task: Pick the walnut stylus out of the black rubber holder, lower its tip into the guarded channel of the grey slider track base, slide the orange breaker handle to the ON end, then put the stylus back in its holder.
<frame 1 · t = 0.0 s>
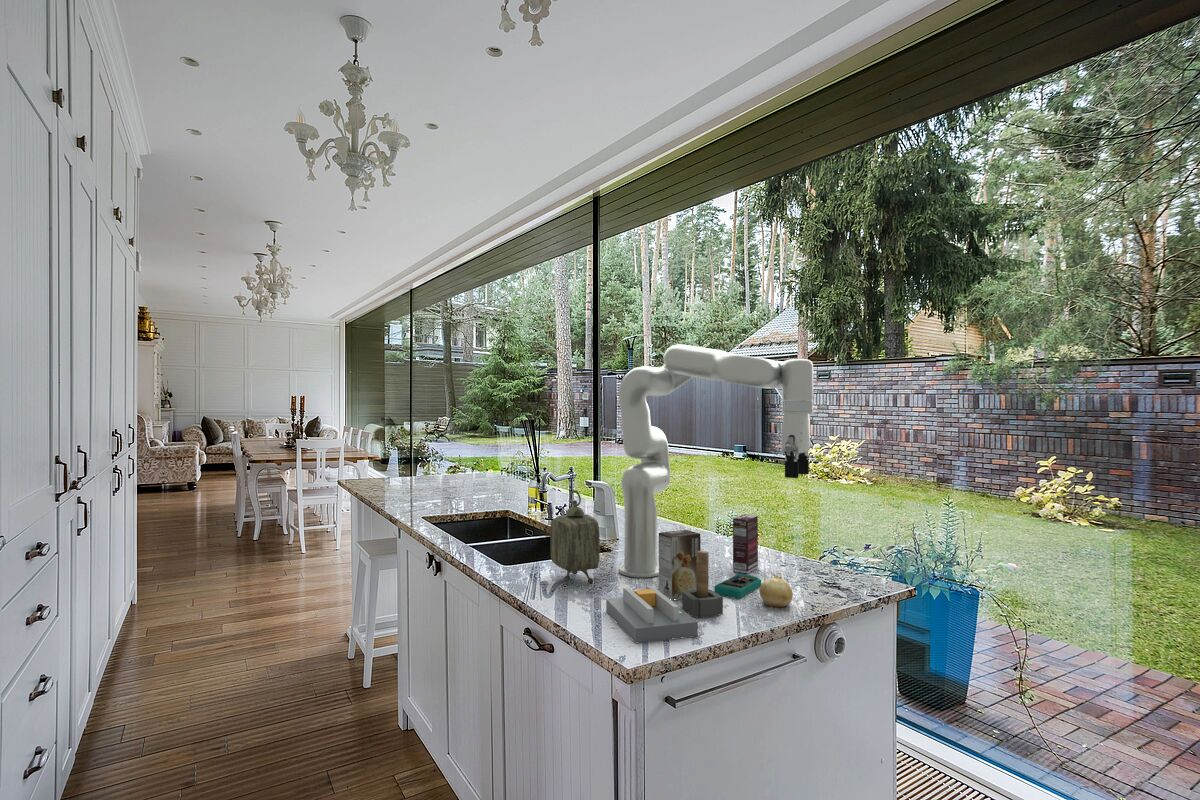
hand: (797, 475, 156), 31 cm above the worktop, tool pointing down, fingers open, 9 cm apart
grey slider track base: (649, 623, 138), on the worktop
digital multimeter: (738, 592, 164), on the worktop
breaker handle: (644, 598, 141), point 5 cm above the worktop, slide at 0.0 cm
stylus: (702, 581, 146), in the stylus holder
tabletop clock: (573, 581, 171), on the worktop
supplement box: (745, 570, 183), on the worktop
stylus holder: (702, 611, 146), on the worktop
coffee box: (679, 596, 159), on the worktop
onion: (775, 605, 152), on the worktop
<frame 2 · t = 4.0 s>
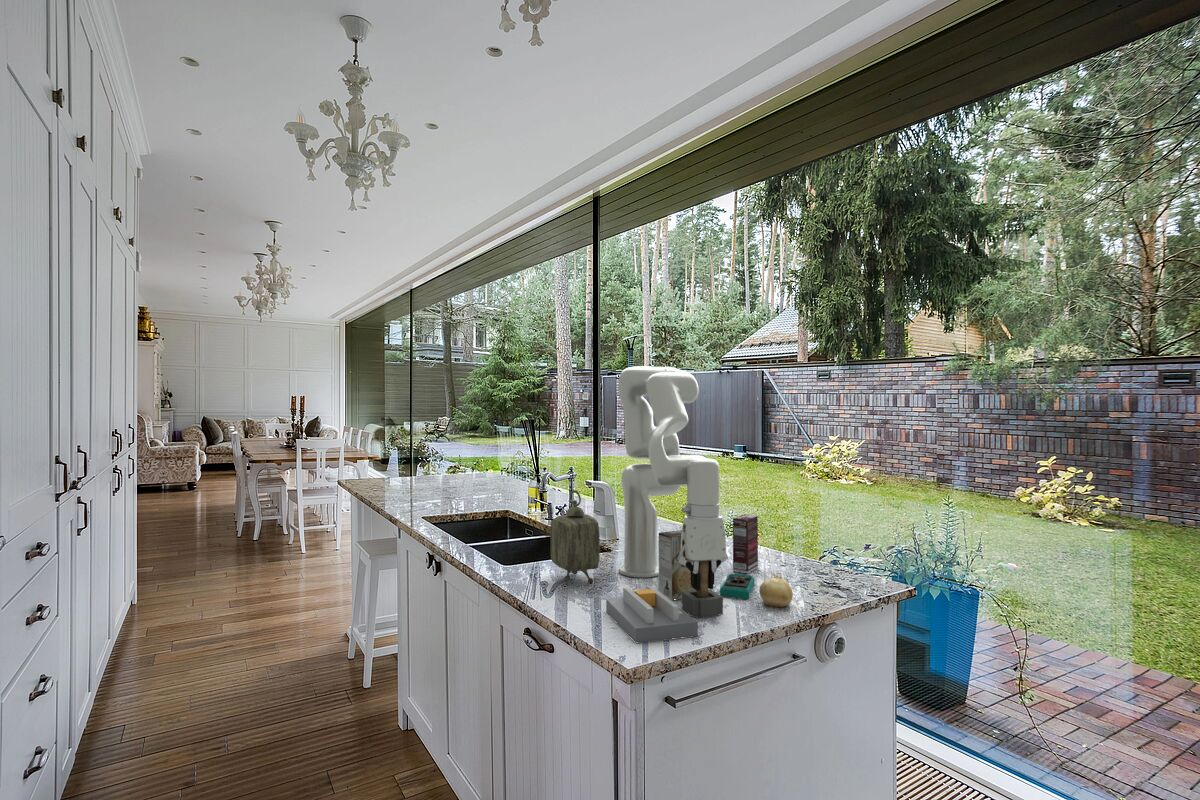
hand: (702, 587, 146), 6 cm above the worktop, tool pointing down, fingers closed on stylus, 2 cm apart
stylus: (702, 581, 146), in the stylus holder, touching gripper
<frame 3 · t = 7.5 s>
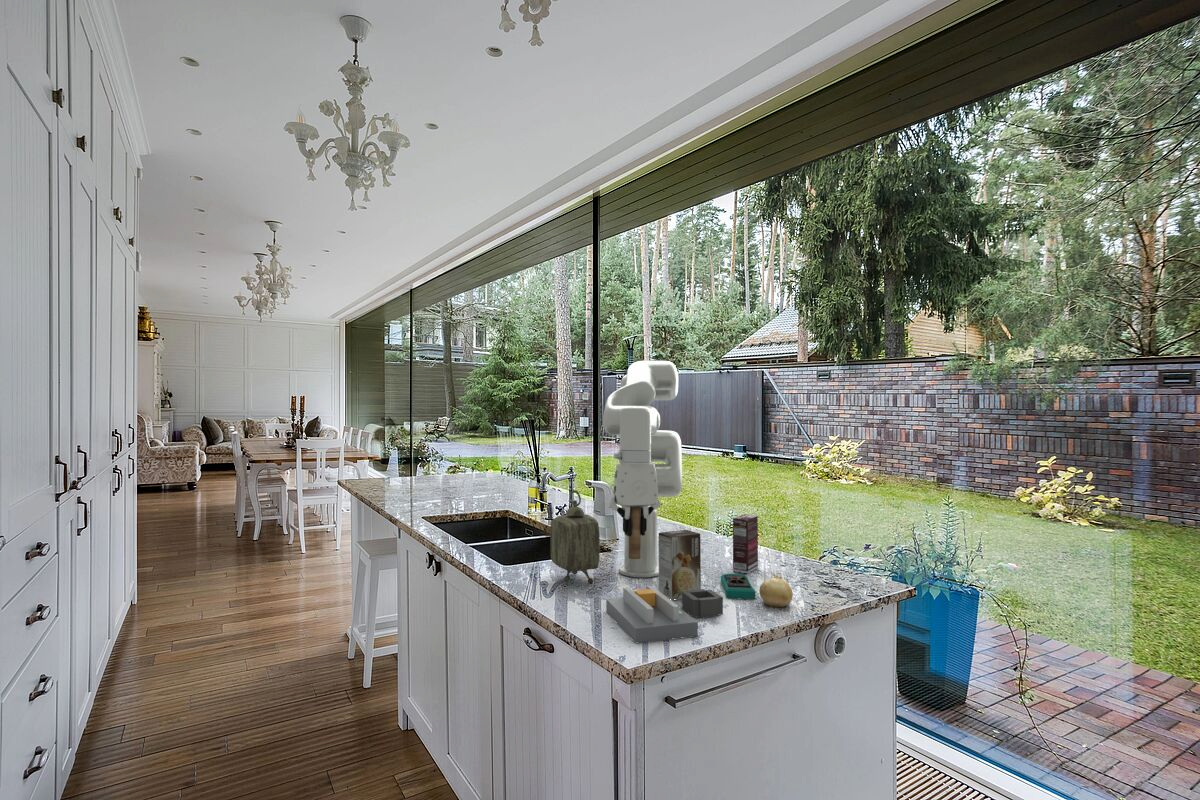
hand: (634, 534, 147), 18 cm above the worktop, tool pointing down, fingers closed on stylus, 2 cm apart
stylus: (634, 528, 147), point 19 cm above the worktop, touching gripper
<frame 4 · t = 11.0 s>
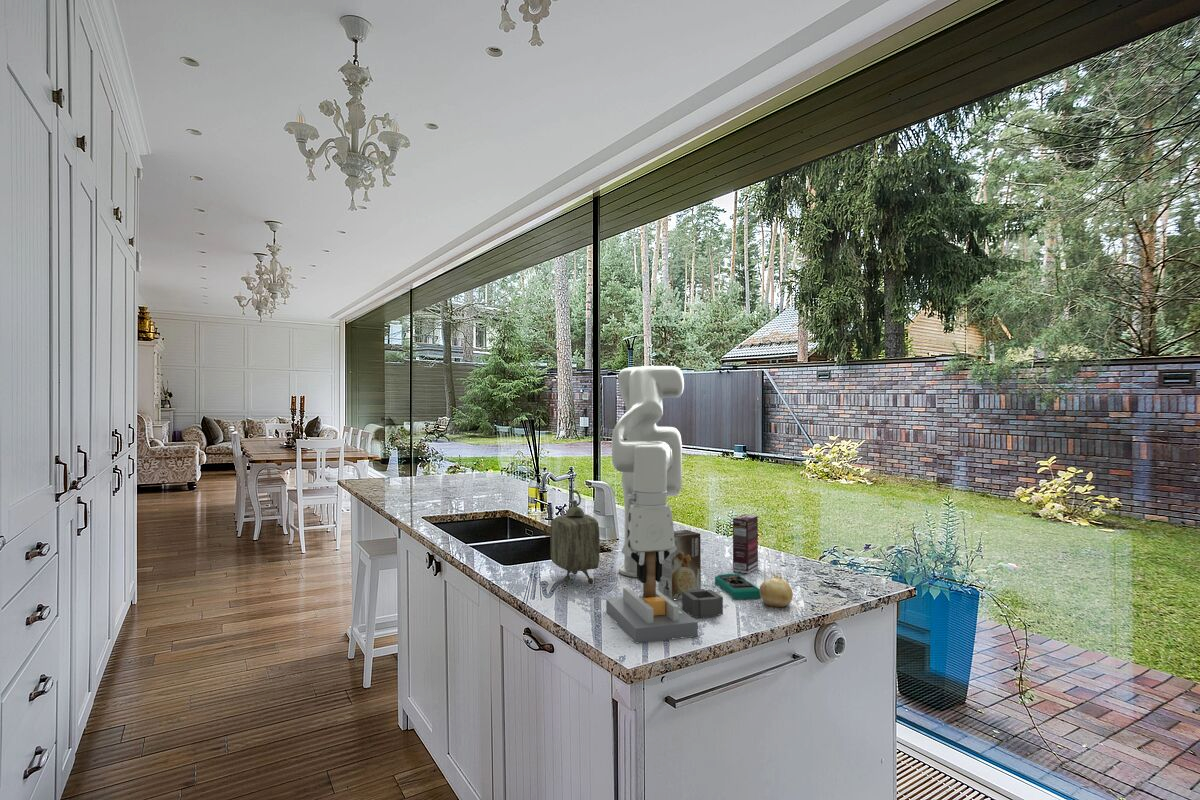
hand: (649, 580, 138), 10 cm above the worktop, tool pointing down, fingers closed on stylus, 2 cm apart
breaker handle: (654, 606, 135), point 5 cm above the worktop, slide at 5.8 cm
stylus: (649, 574, 138), point 11 cm above the worktop, touching gripper
when the fingers open (7 cm above the worktop, at t = 17.0 s): stylus drops 1 cm, resting in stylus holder.
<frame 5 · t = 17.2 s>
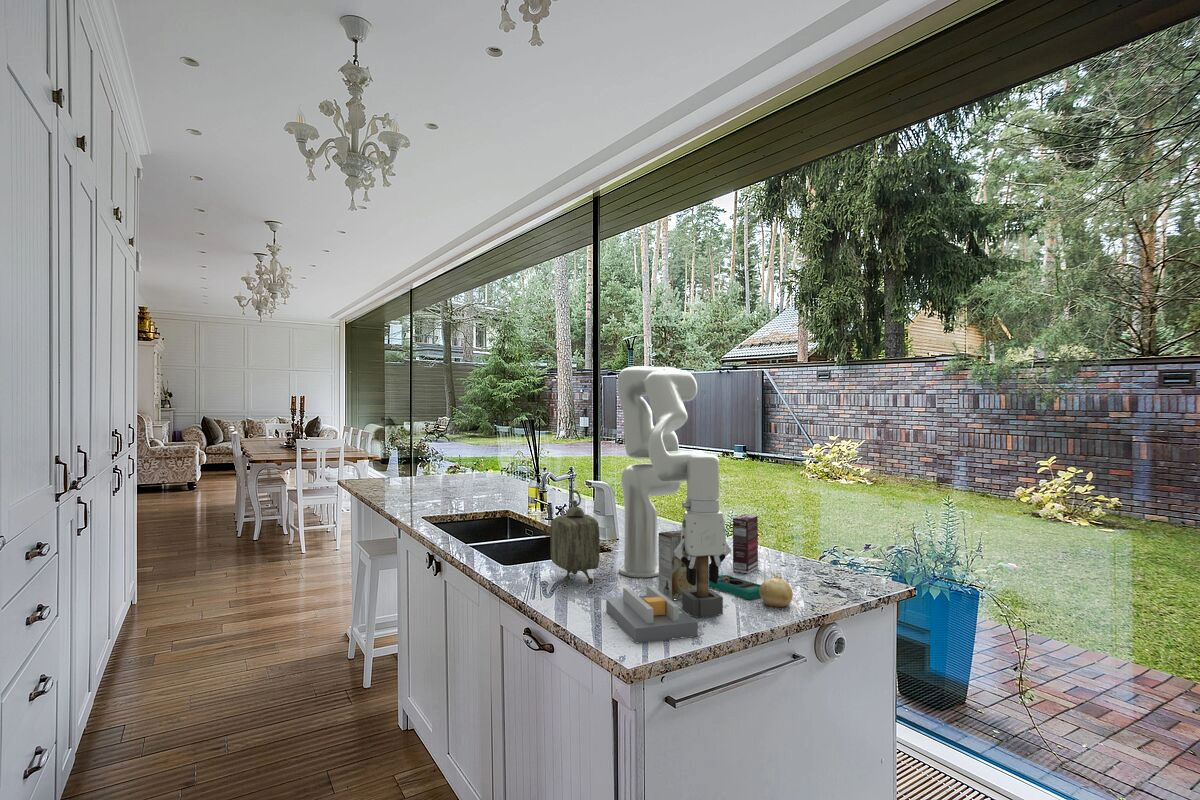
hand: (702, 582, 146), 7 cm above the worktop, tool pointing down, fingers open, 4 cm apart
stylus: (702, 581, 146), in the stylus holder
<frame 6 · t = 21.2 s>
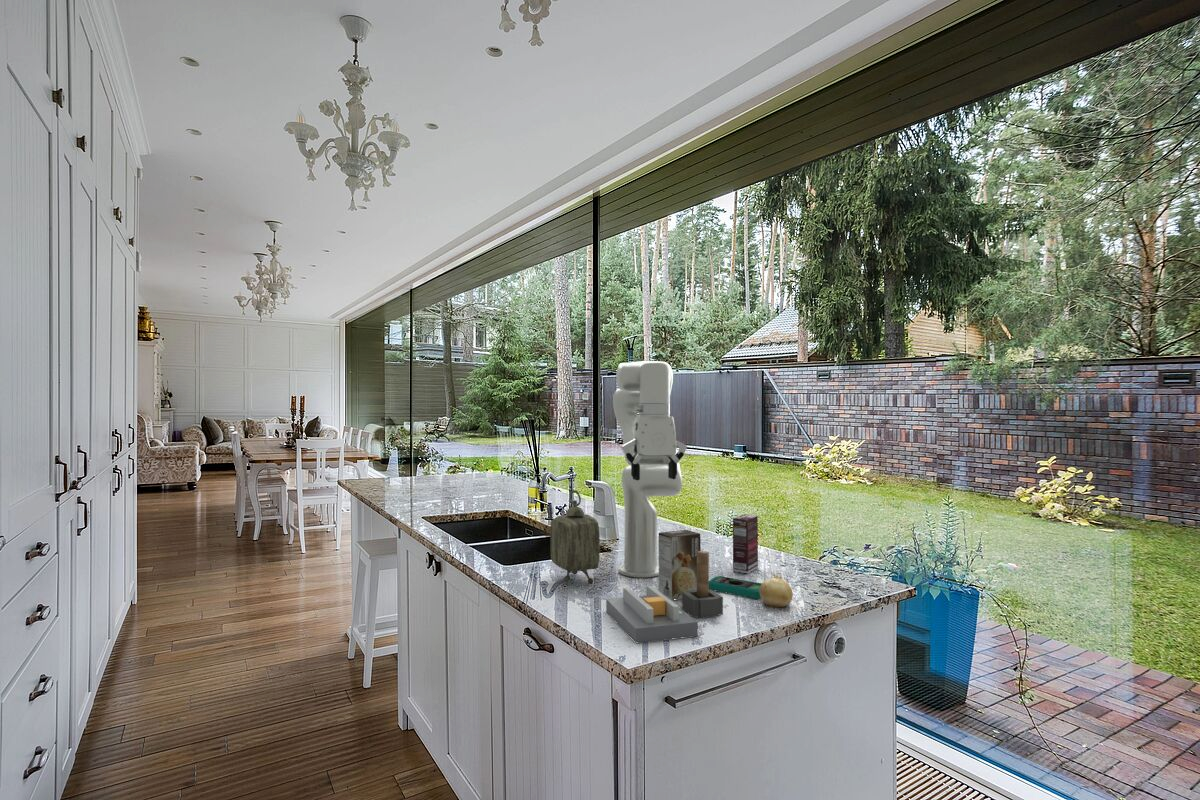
hand: (654, 479, 155), 30 cm above the worktop, tool pointing down, fingers open, 9 cm apart
at the end: breaker handle slide at 5.8 cm; stylus 0.2 cm off-centre on the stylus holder, point 7.0 cm above the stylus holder's base; stylus tilted 0° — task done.
